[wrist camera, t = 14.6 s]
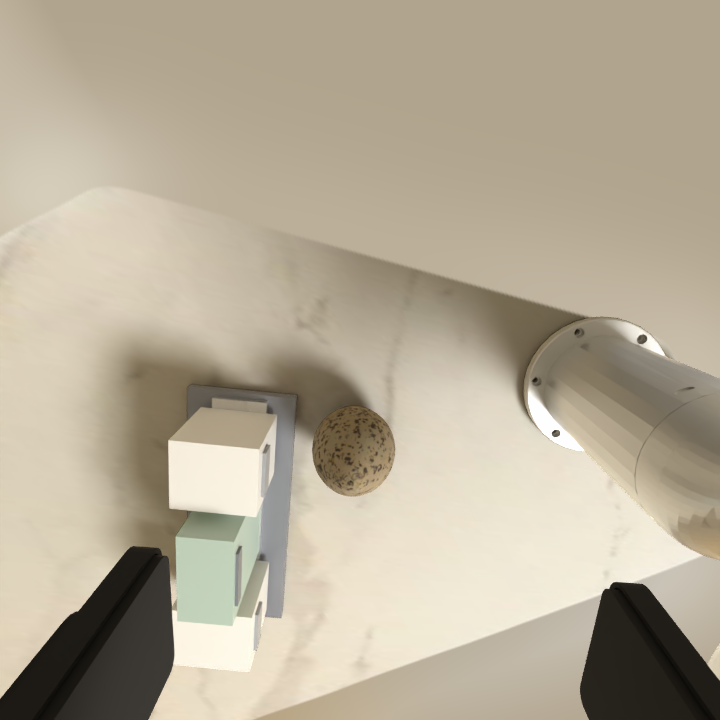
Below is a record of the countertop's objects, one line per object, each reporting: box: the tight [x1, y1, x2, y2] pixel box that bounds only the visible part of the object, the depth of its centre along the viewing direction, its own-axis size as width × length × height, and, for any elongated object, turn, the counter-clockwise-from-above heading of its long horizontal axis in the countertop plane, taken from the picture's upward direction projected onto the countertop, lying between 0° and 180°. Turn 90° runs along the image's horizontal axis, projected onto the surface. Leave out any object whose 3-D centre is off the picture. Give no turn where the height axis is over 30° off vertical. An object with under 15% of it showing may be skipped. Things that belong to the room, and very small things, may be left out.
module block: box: [176, 509, 260, 626], centre depth 40 cm, size 5×8×9 cm, turn 175°
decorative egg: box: [312, 406, 395, 496], centre depth 39 cm, size 7×7×10 cm
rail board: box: [168, 384, 297, 672], centre depth 42 cm, size 10×25×9 cm, turn 174°
